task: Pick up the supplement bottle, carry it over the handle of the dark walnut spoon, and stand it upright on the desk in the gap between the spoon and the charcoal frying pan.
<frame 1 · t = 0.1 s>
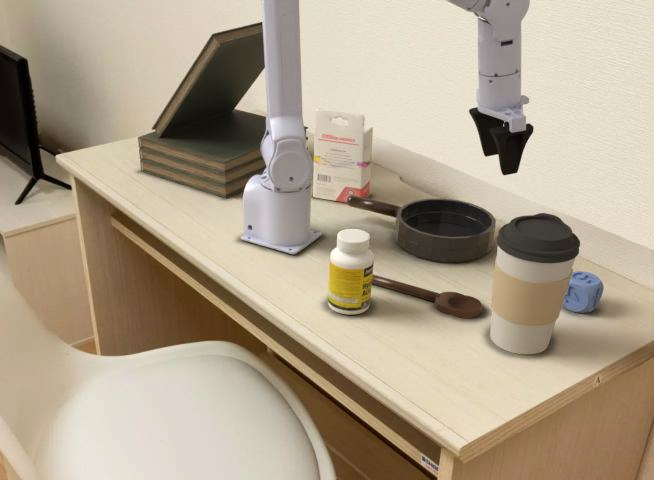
hand: (500, 163, 116), 11 cm above the table, tool pointing down, fingers open, 7 cm apart
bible: (226, 166, 143), on the table
decorative dice: (577, 306, 103), on the table
walnut spoon: (414, 295, 104), on the table
frying pan: (443, 242, 118), on the table
supplement bottle: (348, 306, 101), on the table
coffee cup: (518, 340, 96), on the table
pan handle: (374, 206, 121), point 2 cm above the table
ink cartridge box: (340, 197, 132), on the table
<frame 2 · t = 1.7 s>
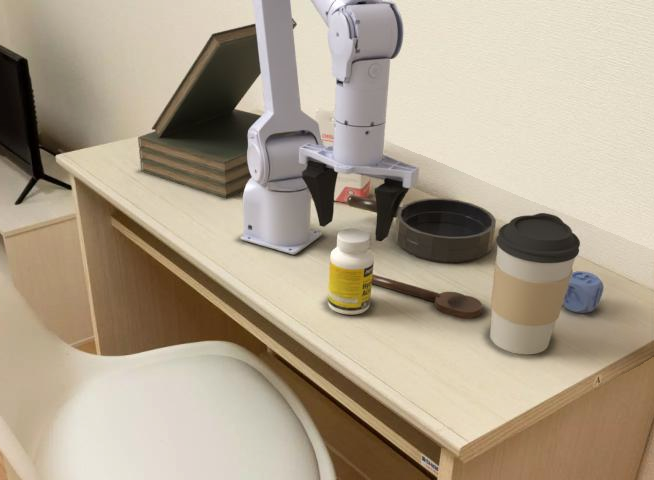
hand: (353, 230, 96), 10 cm above the table, tool pointing down, fingers open, 7 cm apart
nothing on the table moved.
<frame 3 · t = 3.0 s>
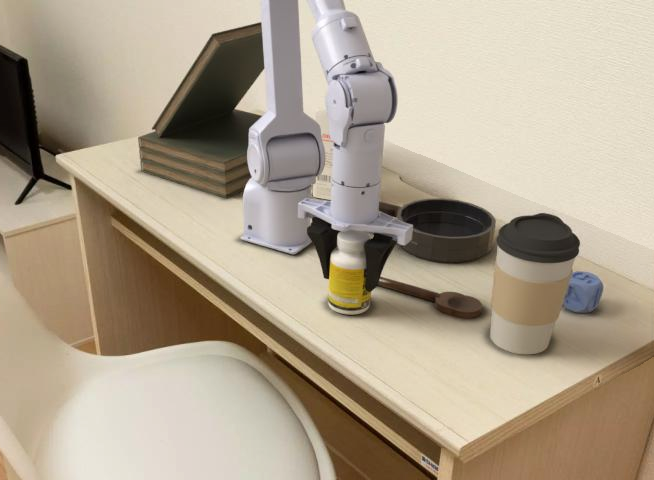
hand: (350, 281, 100), 3 cm above the table, tool pointing down, fingers closed on supplement bottle, 5 cm apart
supplement bottle: (348, 306, 101), on the table, touching gripper
everything else where it was.
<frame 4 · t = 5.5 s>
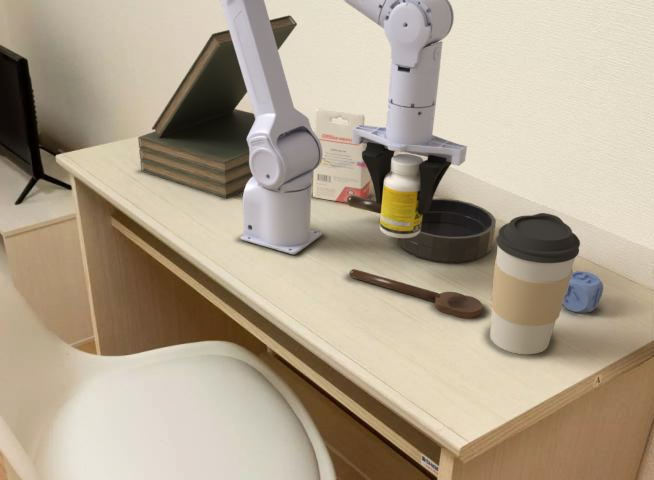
hand: (402, 206, 103), 10 cm above the table, tool pointing down, fingers closed on supplement bottle, 5 cm apart
supplement bottle: (400, 232, 105), point 7 cm above the table, touching gripper
everything else where it was.
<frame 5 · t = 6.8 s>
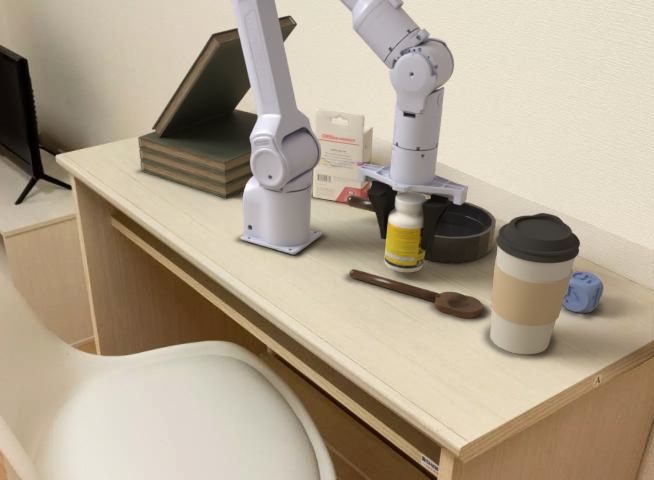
hand: (405, 241, 107), 5 cm above the table, tool pointing down, fingers closed on supplement bottle, 5 cm apart
supplement bottle: (403, 265, 109), point 1 cm above the table, touching gripper
everything else where it was.
when the fingers open (3 cm above the table, at t = 7.8 s): supplement bottle stays where it is, on the table.
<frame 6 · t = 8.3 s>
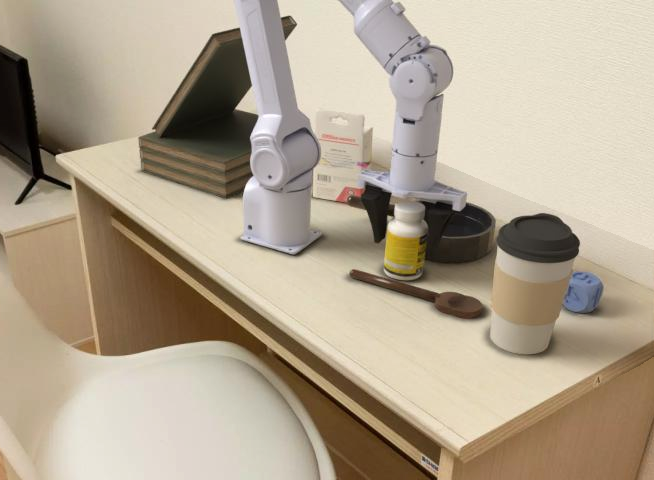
hand: (405, 247, 107), 4 cm above the table, tool pointing down, fingers open, 7 cm apart
supplement bottle: (402, 273, 109), on the table
everything else where it was.
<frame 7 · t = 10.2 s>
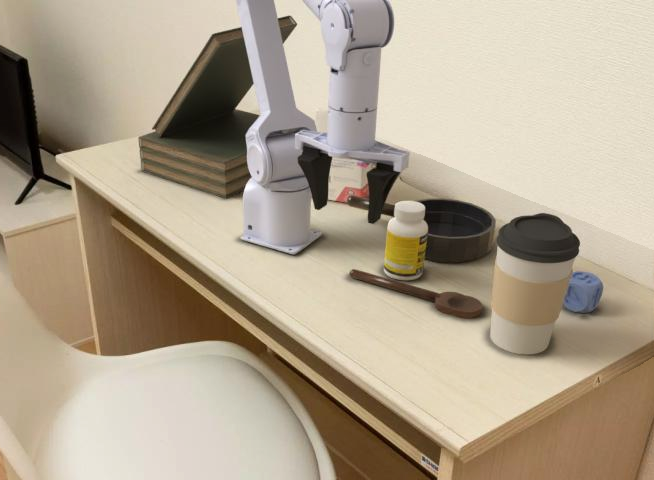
hand: (347, 213, 100), 10 cm above the table, tool pointing down, fingers open, 7 cm apart
nothing on the table moved.
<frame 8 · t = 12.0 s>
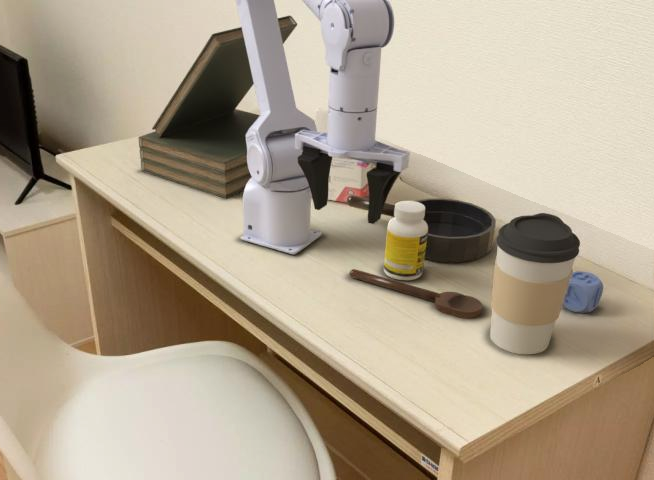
hand: (347, 213, 100), 10 cm above the table, tool pointing down, fingers open, 7 cm apart
nothing on the table moved.
at the end: supplement bottle inside the target area (1.0 cm from its centre), on the table; supplement bottle tilted 0°; the gripper is holding nothing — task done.
